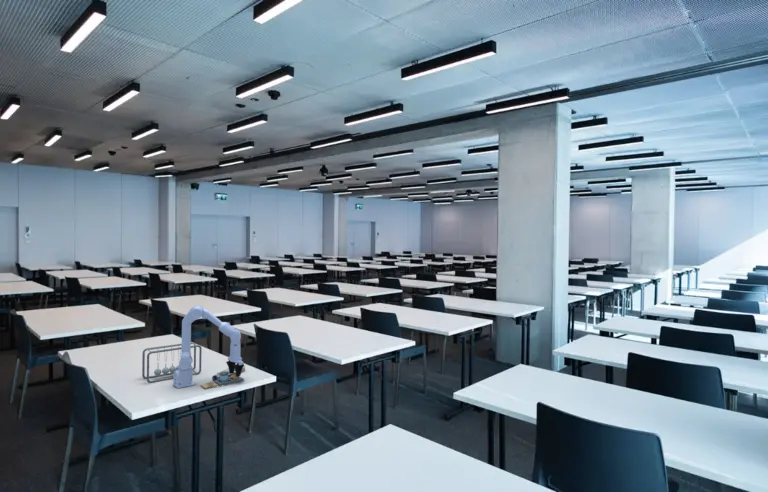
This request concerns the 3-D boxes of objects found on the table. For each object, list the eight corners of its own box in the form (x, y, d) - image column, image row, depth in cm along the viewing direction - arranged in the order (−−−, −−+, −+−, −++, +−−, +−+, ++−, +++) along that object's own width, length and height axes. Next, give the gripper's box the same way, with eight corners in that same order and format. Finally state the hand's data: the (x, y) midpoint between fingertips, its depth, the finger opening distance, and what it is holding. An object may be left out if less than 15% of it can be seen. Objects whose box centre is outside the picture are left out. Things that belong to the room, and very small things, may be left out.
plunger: (233, 381, 255) (233, 375, 255) (231, 380, 257) (231, 374, 257) (238, 380, 257) (238, 374, 257) (236, 379, 259) (236, 373, 259)
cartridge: (221, 385, 249) (221, 374, 249) (218, 383, 252) (218, 372, 252) (229, 383, 252) (230, 372, 252) (226, 381, 256) (226, 370, 256)
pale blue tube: (210, 374, 256) (239, 358, 279) (211, 385, 257) (240, 368, 280) (217, 375, 254) (246, 359, 277) (218, 386, 255) (247, 369, 278)
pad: (205, 389, 242) (205, 387, 242) (200, 386, 246) (200, 384, 246) (218, 386, 246) (218, 384, 246) (212, 383, 251) (212, 381, 251)
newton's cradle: (146, 383, 249) (147, 352, 249) (142, 379, 257) (142, 348, 256) (201, 373, 269) (201, 344, 269) (195, 369, 277) (195, 341, 277)
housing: (220, 386, 247) (220, 383, 247) (214, 382, 252) (214, 380, 252) (243, 381, 257) (243, 378, 257) (237, 377, 262) (237, 375, 262)
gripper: (247, 352, 254) (247, 376, 255) (235, 348, 265) (235, 370, 265) (236, 354, 249) (235, 378, 250) (224, 349, 260) (224, 373, 260)
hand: (234, 374), depth 257 cm, fingers open, 7 cm apart
